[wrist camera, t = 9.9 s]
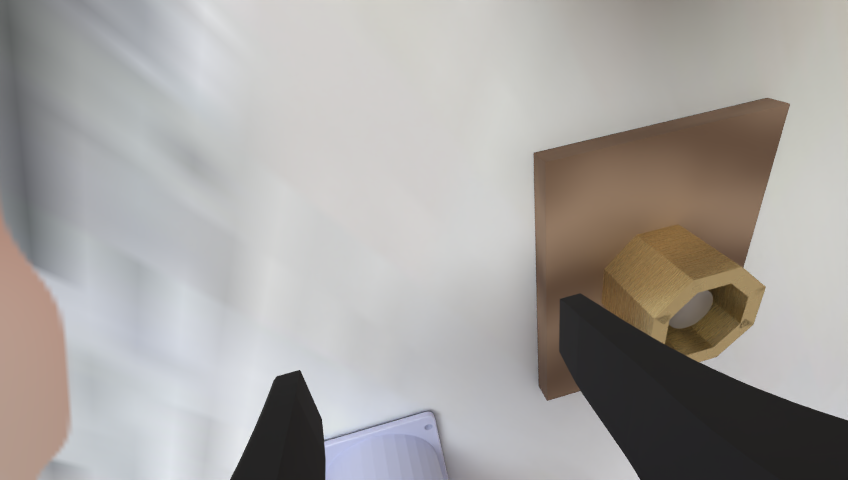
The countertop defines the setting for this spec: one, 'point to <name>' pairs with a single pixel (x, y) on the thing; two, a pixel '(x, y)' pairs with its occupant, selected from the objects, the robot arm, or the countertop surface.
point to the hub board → (645, 206)
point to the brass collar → (681, 291)
